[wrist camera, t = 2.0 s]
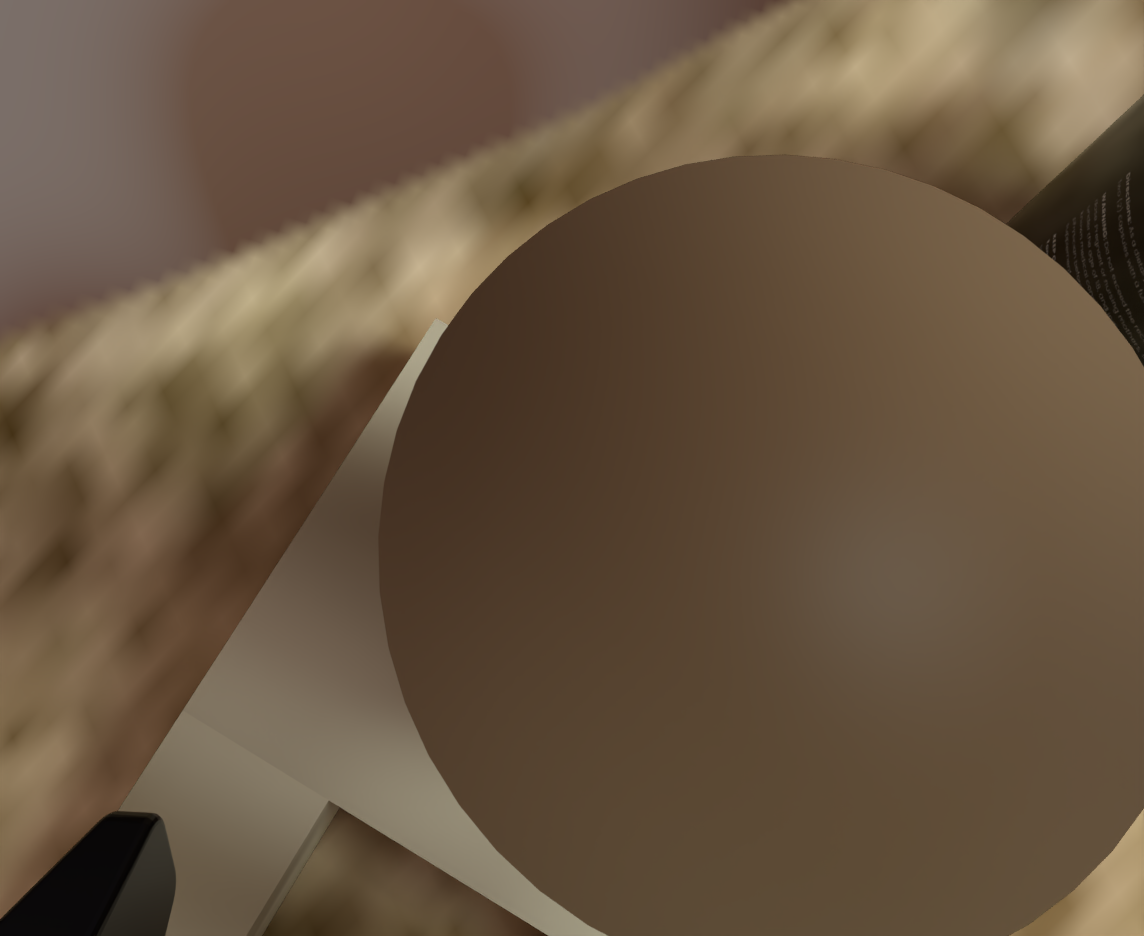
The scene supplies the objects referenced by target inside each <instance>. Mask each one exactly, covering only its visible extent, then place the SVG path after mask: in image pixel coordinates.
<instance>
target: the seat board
mask: <svg viewBox="0 0 1144 936" xmlns="http://www.w3.org/2000/svg"><path fill="white" fill-rule="evenodd" d="M447 327H448V325H447V324H445V323H444V322H442V321H440V320H438V319H437V318H436V319H435V320H434V322H433V324H432V325H431V327H430V328H429V330H428V331H427V333H426V334H425V336H424V338H423V339H422V341H421V342H420V344H419V345H418V347H417V348H416V350H415V351H414V353H413V355H412V356H411V358H410V359H409V361H408V362H407V364H406V365H405V367H404V368H403V370H402V372H401V373H400V375H399V376H398V378H397V379H396V381H395V382H394V384H393V386H392V387H391V389H390V390H389V392H388V393H387V395H386V396H385V398H384V399H383V401H382V403H381V404H380V406H379V407H378V409H377V410H376V412H375V413H374V415H373V416H372V418H371V420H370V421H369V423H368V424H367V426H366V427H365V429H364V430H363V432H362V434H361V435H360V437H359V438H358V440H357V441H356V443H355V444H354V446H353V447H352V449H351V451H350V452H349V454H348V455H347V457H346V458H345V460H344V461H343V463H342V464H341V466H340V468H339V469H338V471H337V472H336V474H335V475H334V477H333V478H332V480H331V482H330V483H329V485H328V486H327V488H326V489H325V491H324V492H323V494H322V495H321V497H320V499H319V500H318V502H317V503H316V505H315V506H314V508H313V509H312V511H311V512H310V514H309V516H308V517H307V519H306V520H305V522H304V523H303V525H302V526H301V528H300V530H299V531H298V533H297V534H296V536H295V537H294V539H293V540H292V542H291V543H290V545H289V547H288V548H287V550H286V551H285V553H284V554H283V556H282V557H281V559H280V560H279V562H278V564H277V565H276V567H275V568H274V570H273V571H272V573H271V574H270V576H269V578H268V579H267V581H266V582H265V584H264V585H263V587H262V588H261V590H260V591H259V593H258V595H257V596H256V598H255V599H254V601H253V602H252V604H251V605H250V607H249V608H248V610H247V612H246V613H245V615H244V616H243V618H242V619H241V621H240V622H239V624H238V626H237V627H236V629H235V630H234V632H233V633H232V635H231V636H230V638H229V639H228V641H227V643H226V644H225V646H224V647H223V649H222V650H221V652H220V653H219V655H218V656H217V658H216V660H215V661H214V663H213V664H212V666H211V667H210V669H209V670H208V672H207V674H206V675H205V677H204V678H203V680H202V681H201V683H200V684H199V686H198V687H197V689H196V691H195V692H194V694H193V695H192V697H191V698H190V700H189V701H188V703H187V704H186V706H185V708H184V709H183V711H182V712H181V714H180V715H179V717H178V718H177V720H176V722H175V723H174V725H173V726H172V728H171V729H170V731H169V732H168V734H167V735H166V737H165V739H164V740H163V742H162V743H161V745H160V746H159V748H158V749H157V751H156V752H155V754H154V756H153V757H152V759H151V760H150V762H149V763H148V765H147V766H146V768H145V770H144V771H143V773H142V774H141V776H140V777H139V779H138V780H137V782H136V783H135V785H134V787H133V788H132V790H131V791H130V793H129V794H128V796H127V797H126V799H125V800H124V802H123V804H122V805H121V807H120V808H119V810H118V811H129V812H147V813H156V814H158V815H159V816H160V817H161V818H162V819H163V821H164V824H165V827H166V832H167V836H168V840H169V844H170V849H171V853H172V857H173V861H174V866H175V871H176V890H175V897H174V902H173V906H172V910H171V914H170V918H169V922H168V927H167V931H166V935H165V936H262V935H263V933H264V932H265V930H266V928H267V927H268V925H269V923H270V922H271V920H272V918H273V917H274V915H275V913H276V912H277V910H278V909H279V907H280V905H281V904H282V902H283V900H284V899H285V897H286V895H287V894H288V892H289V890H290V889H291V887H292V885H293V884H294V882H295V880H296V879H297V877H298V875H299V874H300V872H301V871H302V869H303V867H304V866H305V864H306V862H307V861H308V859H309V857H310V856H311V854H312V852H313V851H314V849H315V847H316V846H317V844H318V842H319V841H320V839H321V837H322V836H323V834H324V832H325V831H326V829H327V828H328V826H329V824H330V823H331V821H332V819H333V818H334V816H335V814H336V813H337V811H338V809H339V808H342V809H344V810H345V811H347V812H348V813H350V814H352V815H353V816H355V817H357V818H358V819H360V820H361V821H363V822H365V823H366V824H368V825H369V826H371V827H373V828H374V829H376V830H378V831H379V832H381V833H382V834H384V835H386V836H387V837H389V838H391V839H392V840H394V841H395V842H397V843H399V844H400V845H402V846H404V847H405V848H407V849H408V850H410V851H412V852H413V853H415V854H417V855H418V856H420V857H421V858H423V859H425V860H426V861H428V862H430V863H431V864H433V865H434V866H436V867H438V868H439V869H441V870H443V871H444V872H446V873H447V874H449V875H451V876H452V877H454V878H456V879H457V880H459V881H460V882H462V883H464V884H465V885H467V886H468V887H470V888H472V889H473V890H475V891H477V892H478V893H480V894H481V895H483V896H485V897H486V898H488V899H490V900H491V901H493V902H494V903H496V904H498V905H499V906H501V907H503V908H504V909H506V910H507V911H509V912H511V913H512V914H514V915H516V916H517V917H519V918H520V919H522V920H524V921H525V922H527V923H529V924H530V925H532V926H533V927H535V928H537V929H538V930H540V931H542V932H543V933H545V934H546V935H548V936H607V935H606V934H604V933H602V932H600V931H598V930H596V929H594V928H592V927H590V926H588V925H587V924H585V923H584V922H583V921H581V920H580V919H578V918H577V917H576V916H574V915H573V914H571V913H570V912H569V911H567V910H566V909H564V908H563V907H562V906H560V905H559V904H557V903H556V902H554V901H553V900H552V899H550V898H549V897H547V896H546V895H545V894H543V893H542V892H540V891H539V890H538V889H537V888H536V887H535V886H534V885H533V884H532V883H531V882H530V881H528V880H527V879H526V878H525V877H524V876H523V875H522V874H521V873H520V872H519V871H518V870H517V869H516V868H515V867H513V866H512V865H511V864H510V863H509V862H508V861H507V860H506V859H505V858H504V857H503V856H502V855H501V854H500V853H499V852H497V851H496V849H495V848H494V847H493V846H492V845H491V843H490V842H489V841H488V840H487V838H486V837H485V836H484V835H483V834H482V832H481V831H480V830H479V829H478V827H477V826H476V825H475V824H474V823H473V821H472V820H471V819H470V818H469V816H468V815H467V814H466V813H465V812H464V810H463V809H462V808H461V807H460V805H459V804H458V802H457V801H456V799H455V797H454V796H453V794H452V793H451V791H450V789H449V788H448V786H447V785H446V783H445V781H444V780H443V778H442V776H441V775H440V773H439V772H438V770H437V768H436V767H435V765H434V763H433V762H432V760H431V759H430V757H429V755H428V753H427V751H426V749H425V746H424V744H423V742H422V740H421V738H420V735H419V733H418V731H417V729H416V726H415V724H414V722H413V720H412V717H411V715H410V713H409V711H408V709H407V706H406V704H405V702H404V698H403V695H402V691H401V688H400V685H399V681H398V678H397V675H396V671H395V668H394V665H393V661H392V658H391V654H390V651H389V648H388V642H387V635H386V629H385V623H384V616H383V610H382V604H381V597H380V586H379V547H378V534H379V525H380V516H381V506H382V497H383V488H384V481H385V476H386V472H387V468H388V464H389V460H390V456H391V452H392V448H393V444H394V440H395V436H396V431H397V428H398V426H399V423H400V421H401V418H402V416H403V413H404V410H405V408H406V405H407V403H408V400H409V398H410V395H411V392H412V390H413V387H414V385H415V382H416V380H417V378H418V376H419V374H420V373H421V371H422V369H423V367H424V365H425V364H426V362H427V360H428V358H429V356H430V355H431V353H432V351H433V349H434V347H435V346H436V344H437V342H438V340H439V338H440V336H441V335H442V333H443V332H444V331H445V329H446V328H447Z"/></svg>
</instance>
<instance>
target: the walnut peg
mask: <svg viewBox="0 0 1144 936" xmlns="http://www.w3.org/2000/svg"><path fill="white" fill-rule="evenodd" d="M378 547H379V586H380V597H381V604H382V610H383V616H384V623H385V629H386V635H387V642H388V648H389V651H390V654H391V658H392V661H393V665H394V668H395V671H396V675H397V678H398V681H399V685H400V688H401V691H402V695H403V698H404V702H405V704H406V706H407V709H408V711H409V713H410V715H411V717H412V720H413V722H414V724H415V726H416V729H417V731H418V733H419V735H420V738H421V740H422V742H423V744H424V746H425V749H426V751H427V753H428V755H429V757H430V759H431V760H432V762H433V763H434V765H435V767H436V768H437V770H438V772H439V773H440V775H441V776H442V778H443V780H444V781H445V783H446V785H447V786H448V788H449V789H450V791H451V793H452V794H453V796H454V797H455V799H456V801H457V802H458V804H459V805H460V807H461V808H462V809H463V810H464V812H465V813H466V814H467V815H468V816H469V818H470V819H471V820H472V821H473V823H474V824H475V825H476V826H477V827H478V829H479V830H480V831H481V832H482V834H483V835H484V836H485V837H486V838H487V840H488V841H489V842H490V843H491V845H492V846H493V847H494V848H495V849H496V851H497V852H499V853H500V854H501V855H502V856H503V857H504V858H505V859H506V860H507V861H508V862H509V863H510V864H511V865H512V866H513V867H515V868H516V869H517V870H518V871H519V872H520V873H521V874H522V875H523V876H524V877H525V878H526V879H527V880H528V881H530V882H531V883H532V884H533V885H534V886H535V887H536V888H537V889H538V890H539V891H540V892H542V893H543V894H545V895H546V896H547V897H549V898H550V899H552V900H553V901H554V902H556V903H557V904H559V905H560V906H562V907H563V908H564V909H566V910H567V911H569V912H570V913H571V914H573V915H574V916H576V917H577V918H578V919H580V920H581V921H583V922H584V923H585V924H587V925H588V926H590V927H592V928H594V929H596V930H598V931H600V932H602V933H604V934H606V935H607V936H1009V935H1011V934H1013V933H1014V932H1016V931H1018V930H1020V929H1022V928H1023V927H1025V926H1027V925H1029V924H1030V923H1032V922H1033V921H1034V920H1035V919H1037V918H1038V917H1039V916H1041V915H1042V914H1043V913H1045V912H1046V911H1047V910H1049V909H1050V908H1051V907H1053V906H1054V905H1055V904H1056V903H1058V902H1059V901H1060V900H1062V899H1063V898H1064V897H1066V896H1067V895H1068V894H1070V893H1071V892H1072V891H1074V890H1075V888H1076V887H1077V886H1078V885H1079V884H1080V883H1081V882H1082V881H1083V880H1084V879H1085V878H1086V877H1087V876H1088V875H1089V874H1090V873H1091V872H1092V871H1093V870H1094V869H1095V868H1096V867H1097V866H1098V865H1099V864H1100V863H1101V862H1102V861H1103V860H1104V859H1105V858H1106V857H1107V856H1108V855H1109V854H1110V853H1111V852H1112V851H1113V849H1114V848H1115V847H1116V845H1117V844H1118V843H1119V841H1120V840H1121V839H1122V837H1123V836H1124V835H1125V833H1126V832H1127V830H1128V829H1129V828H1130V826H1131V825H1132V824H1133V822H1134V821H1135V820H1136V818H1137V817H1138V816H1139V814H1140V813H1141V811H1142V810H1143V809H1144V367H1143V365H1142V363H1141V361H1140V360H1139V358H1138V356H1137V355H1136V353H1135V351H1134V350H1133V348H1132V347H1131V345H1130V344H1129V343H1128V341H1127V340H1126V339H1125V337H1124V336H1123V335H1122V334H1121V332H1120V331H1119V330H1118V328H1117V327H1116V326H1115V324H1114V323H1113V322H1112V321H1111V319H1110V318H1109V317H1108V315H1107V314H1106V313H1105V311H1104V310H1103V309H1102V307H1101V306H1100V305H1099V304H1098V303H1097V302H1096V301H1095V300H1094V299H1093V298H1092V297H1091V296H1090V295H1089V294H1088V293H1087V292H1086V291H1085V290H1084V289H1083V288H1082V287H1081V286H1080V285H1079V283H1078V282H1077V281H1076V280H1075V279H1074V278H1073V277H1072V276H1071V275H1070V274H1069V273H1068V272H1067V271H1066V270H1065V269H1064V268H1063V267H1061V266H1060V265H1059V264H1058V263H1057V262H1055V261H1054V260H1053V259H1052V258H1050V257H1049V256H1048V255H1047V254H1045V253H1044V252H1043V251H1042V250H1040V249H1039V248H1038V247H1037V246H1036V245H1034V244H1033V243H1032V242H1031V241H1029V240H1028V239H1027V238H1026V237H1024V236H1023V235H1022V234H1020V233H1018V232H1017V231H1015V230H1014V229H1012V228H1010V227H1009V226H1007V225H1006V224H1004V223H1003V222H1001V221H999V220H998V219H996V218H995V217H993V216H991V215H990V214H988V213H987V212H985V211H984V210H982V209H980V208H979V207H976V206H974V205H972V204H970V203H968V202H966V201H964V200H962V199H960V198H958V197H955V196H953V195H951V194H949V193H947V192H945V191H943V190H941V189H939V188H937V187H934V186H932V185H929V184H926V183H923V182H920V181H917V180H914V179H911V178H908V177H905V176H902V175H900V174H897V173H894V172H891V171H888V170H885V169H880V168H875V167H870V166H866V165H861V164H856V163H851V162H847V161H842V160H837V159H828V158H816V157H805V156H793V155H766V156H738V157H729V158H723V159H717V160H711V161H704V162H698V163H692V164H686V165H682V166H679V167H675V168H672V169H668V170H665V171H662V172H658V173H655V174H651V175H648V176H645V177H641V178H638V179H635V180H633V181H631V182H628V183H626V184H624V185H621V186H619V187H617V188H615V189H612V190H610V191H608V192H605V193H603V194H601V195H599V196H596V197H594V198H592V199H590V200H588V201H587V202H585V203H583V204H582V205H580V206H578V207H577V208H575V209H573V210H572V211H570V212H568V213H567V214H565V215H563V216H562V217H560V218H558V219H557V220H555V221H553V222H552V223H550V224H548V225H547V226H546V227H544V228H543V229H542V230H540V231H539V232H538V233H537V234H535V235H534V236H533V237H532V238H530V239H529V240H528V241H527V242H525V243H524V244H523V245H522V246H520V247H519V248H518V249H517V250H515V251H514V252H513V253H512V254H510V255H509V256H508V257H507V258H506V259H505V260H504V261H503V262H502V263H501V264H500V265H499V266H498V267H497V268H496V269H495V270H494V271H493V272H492V273H491V274H490V275H489V276H488V277H487V278H486V279H485V281H484V282H483V283H482V284H481V285H480V286H479V287H478V288H477V289H476V290H475V291H474V292H473V293H472V294H471V296H470V297H469V298H468V300H467V301H466V302H465V304H464V305H463V306H462V308H461V309H460V310H459V312H458V313H457V314H456V316H455V317H454V318H453V320H452V321H451V323H450V324H449V325H448V327H447V328H446V329H445V331H444V332H443V333H442V335H441V336H440V338H439V340H438V342H437V344H436V346H435V347H434V349H433V351H432V353H431V355H430V356H429V358H428V360H427V362H426V364H425V365H424V367H423V369H422V371H421V373H420V374H419V376H418V378H417V380H416V382H415V385H414V387H413V390H412V392H411V395H410V398H409V400H408V403H407V405H406V408H405V410H404V413H403V416H402V418H401V421H400V423H399V426H398V428H397V431H396V436H395V440H394V444H393V448H392V452H391V456H390V460H389V464H388V468H387V472H386V476H385V481H384V488H383V497H382V506H381V516H380V525H379V534H378Z"/></svg>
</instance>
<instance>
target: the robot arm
mask: <svg viewBox="0 0 1144 936" xmlns="http://www.w3.org/2000/svg"><path fill="white" fill-rule="evenodd" d="M175 890H176V871H175V866H174V861H173V857H172V853H171V849H170V844H169V840H168V836H167V832H166V827H165V824H164V821H163V819H162V818H161V817H160V816H159V815H158V814H156V813H147V812H129V811H116V812H112V813H110V814H108V815H106V816H105V817H103V818H102V819H101V820H100V821H99V822H98V823H97V824H96V825H95V826H94V827H93V828H92V829H91V830H90V831H89V832H88V833H87V834H86V835H85V836H84V837H83V838H82V839H81V840H80V841H79V842H78V843H77V844H76V845H75V846H74V847H73V848H72V849H71V850H70V851H68V852H67V853H66V854H65V855H64V856H63V857H62V858H61V859H60V860H59V861H58V862H57V863H56V864H55V865H54V866H53V867H52V868H51V869H50V870H49V871H48V872H47V873H46V874H45V875H44V876H43V877H42V878H41V879H40V880H39V881H38V882H37V883H36V884H35V885H34V886H33V887H32V888H31V889H30V890H29V891H28V892H27V893H26V894H25V895H24V896H23V897H22V898H21V899H20V900H19V901H18V902H17V903H16V904H15V905H14V906H13V907H12V908H11V909H10V910H9V911H8V912H7V913H6V914H5V915H4V916H3V917H2V918H1V919H0V936H165V935H166V931H167V927H168V922H169V918H170V914H171V910H172V906H173V902H174V897H175Z"/></svg>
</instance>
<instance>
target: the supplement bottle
mask: <svg viewBox="0 0 1144 936" xmlns="http://www.w3.org/2000/svg"><path fill="white" fill-rule="evenodd" d="M1006 225H1007V226H1009V227H1010V228H1012V229H1014V230H1015V231H1017V232H1018V233H1020V234H1022V235H1023V236H1024V237H1026V238H1027V239H1028V240H1029V241H1031V242H1032V243H1033V244H1034V245H1036V246H1037V247H1038V248H1039V249H1040V250H1042V251H1043V252H1044V253H1045V254H1047V255H1048V256H1049V257H1050V258H1052V259H1053V260H1054V261H1055V262H1057V263H1058V264H1059V265H1060V266H1061V267H1063V268H1064V269H1065V270H1066V271H1067V272H1068V273H1069V274H1070V275H1071V276H1072V277H1073V278H1074V279H1075V280H1076V281H1077V282H1078V283H1079V285H1080V286H1081V287H1082V288H1083V289H1084V290H1085V291H1086V292H1087V293H1088V294H1089V295H1090V296H1091V297H1092V298H1093V299H1094V300H1095V301H1096V302H1097V303H1098V304H1099V305H1100V306H1101V307H1102V309H1103V310H1104V311H1105V313H1106V314H1107V315H1108V317H1109V318H1110V319H1111V321H1112V322H1113V323H1114V324H1115V326H1116V327H1117V328H1118V330H1119V331H1120V332H1121V334H1122V335H1123V336H1124V337H1125V339H1126V340H1127V341H1128V343H1129V344H1130V345H1131V347H1132V348H1133V350H1134V351H1135V353H1136V355H1137V356H1138V358H1139V360H1140V361H1141V363H1142V365H1143V367H1144V95H1143V96H1142V97H1141V98H1140V99H1139V100H1137V101H1136V102H1135V103H1134V104H1133V105H1132V106H1131V107H1130V108H1129V109H1128V110H1127V111H1126V112H1125V113H1124V114H1123V115H1121V116H1120V117H1119V118H1118V119H1117V120H1116V121H1115V122H1114V123H1113V124H1112V125H1111V126H1110V127H1109V128H1108V129H1107V130H1106V131H1104V132H1103V133H1102V134H1101V135H1100V136H1099V137H1098V138H1097V139H1096V140H1095V141H1094V142H1093V143H1092V144H1091V145H1090V146H1088V147H1087V148H1086V149H1085V150H1084V151H1083V152H1082V153H1081V154H1080V155H1079V156H1078V157H1077V158H1076V159H1075V160H1074V161H1073V162H1071V163H1070V164H1069V165H1068V166H1067V167H1066V168H1065V169H1064V170H1063V171H1062V172H1061V173H1060V174H1059V175H1058V176H1057V177H1055V178H1054V179H1053V180H1052V181H1051V182H1050V183H1049V184H1048V185H1047V186H1046V187H1045V188H1044V189H1043V190H1042V191H1041V192H1040V193H1038V194H1037V195H1036V196H1035V197H1034V198H1033V199H1032V200H1031V201H1030V202H1029V203H1028V204H1027V205H1026V206H1025V207H1024V208H1023V209H1021V210H1020V211H1019V212H1018V213H1017V214H1016V215H1015V216H1014V217H1013V218H1012V219H1011V220H1010V221H1009V222H1008V223H1007V224H1006Z"/></svg>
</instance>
